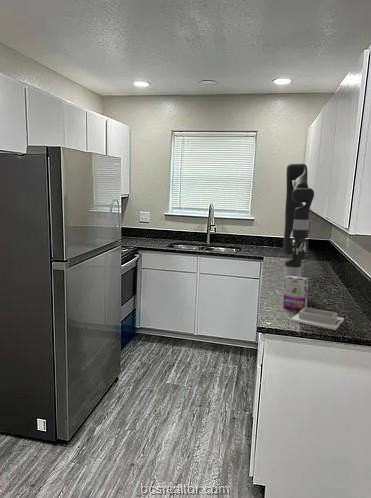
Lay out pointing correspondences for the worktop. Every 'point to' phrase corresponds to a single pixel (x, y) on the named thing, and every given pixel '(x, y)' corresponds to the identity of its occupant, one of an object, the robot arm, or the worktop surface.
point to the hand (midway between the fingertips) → (298, 260)
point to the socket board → (318, 318)
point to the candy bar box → (295, 292)
